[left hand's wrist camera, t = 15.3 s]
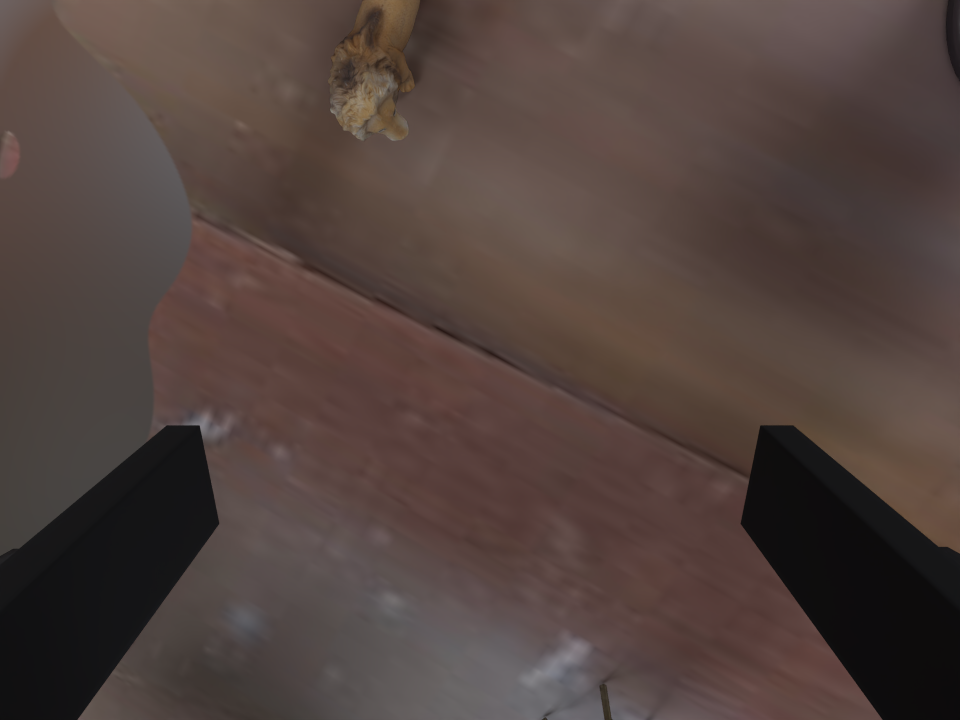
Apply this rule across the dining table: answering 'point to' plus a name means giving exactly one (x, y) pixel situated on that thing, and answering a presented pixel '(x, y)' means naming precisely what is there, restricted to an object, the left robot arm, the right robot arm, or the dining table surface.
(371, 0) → the lion figurine
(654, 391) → the dining table surface
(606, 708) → the miniature windmill
